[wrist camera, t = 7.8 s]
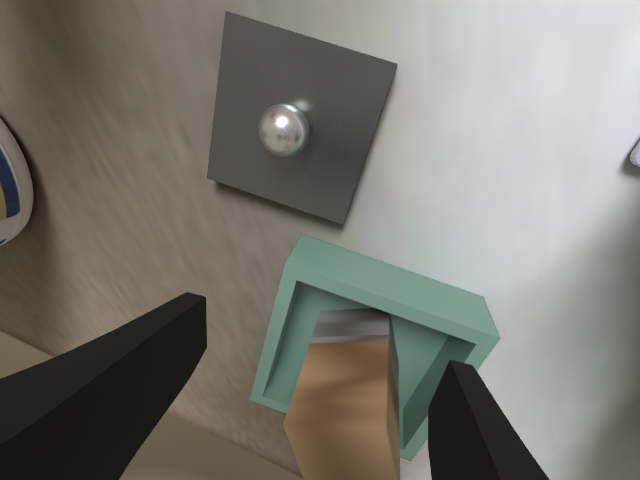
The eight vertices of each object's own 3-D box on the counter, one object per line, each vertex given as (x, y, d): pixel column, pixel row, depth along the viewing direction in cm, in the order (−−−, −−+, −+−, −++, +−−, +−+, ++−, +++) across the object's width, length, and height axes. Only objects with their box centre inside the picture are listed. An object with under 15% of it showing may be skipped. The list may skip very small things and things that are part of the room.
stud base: (397, 64, 15) (397, 61, 12) (345, 217, 19) (336, 241, 16) (235, 15, 16) (199, 0, 13) (215, 173, 19) (184, 189, 17)
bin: (483, 297, 19) (500, 338, 16) (408, 413, 24) (410, 461, 21) (302, 234, 20) (285, 262, 17) (267, 360, 25) (249, 399, 22)
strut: (389, 306, 20) (386, 428, 13) (398, 361, 22) (400, 496, 15) (320, 310, 21) (282, 424, 14) (333, 362, 23) (306, 487, 16)
